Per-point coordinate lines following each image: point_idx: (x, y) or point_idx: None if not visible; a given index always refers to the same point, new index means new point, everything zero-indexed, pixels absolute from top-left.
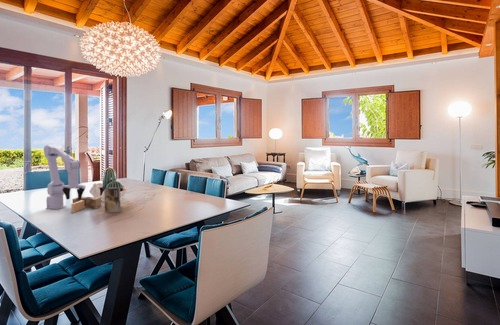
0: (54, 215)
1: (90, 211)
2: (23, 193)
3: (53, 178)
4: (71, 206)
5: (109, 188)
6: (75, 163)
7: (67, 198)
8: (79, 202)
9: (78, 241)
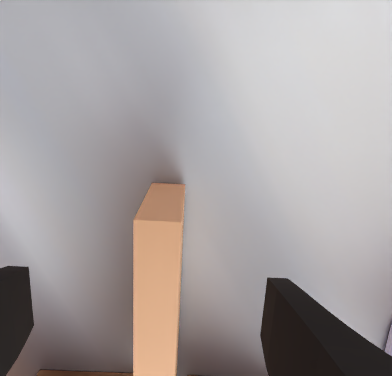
0: (318, 42)
1: (3, 238)
2: None
3: None
4: (182, 206)
5: None
6: None
7: (272, 284)
8: (135, 348)
9: None
